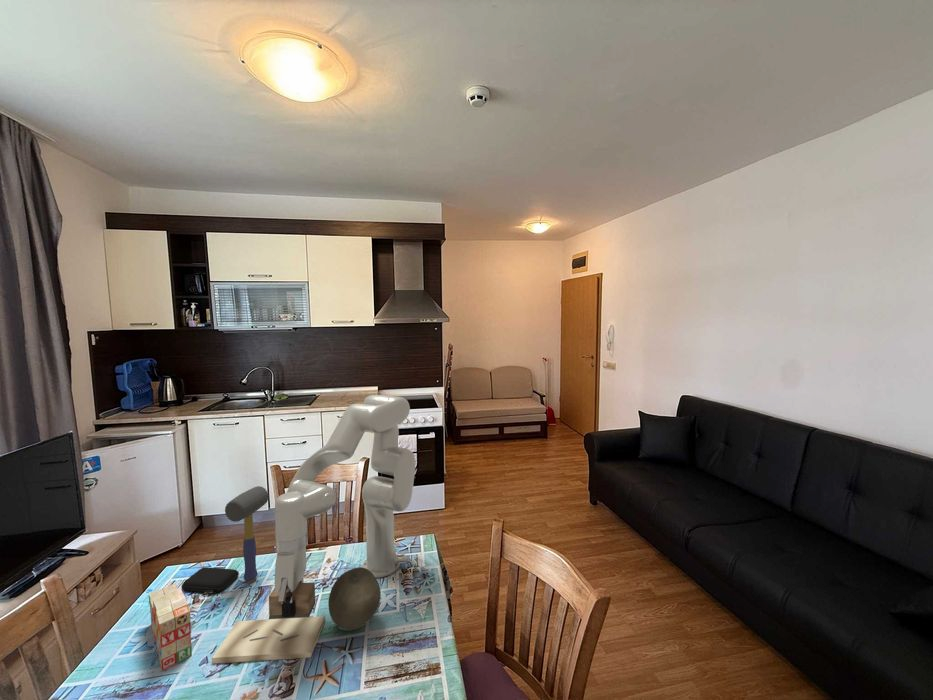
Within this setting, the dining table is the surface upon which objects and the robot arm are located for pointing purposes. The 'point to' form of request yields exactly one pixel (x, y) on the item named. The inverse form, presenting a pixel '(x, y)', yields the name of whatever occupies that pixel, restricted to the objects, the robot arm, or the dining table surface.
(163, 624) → the stack of blocks
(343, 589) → the cantaloupe
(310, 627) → the birch board
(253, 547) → the rubber mallet
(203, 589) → the carrying case or bag
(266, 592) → the dining table surface
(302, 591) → the sanding block
